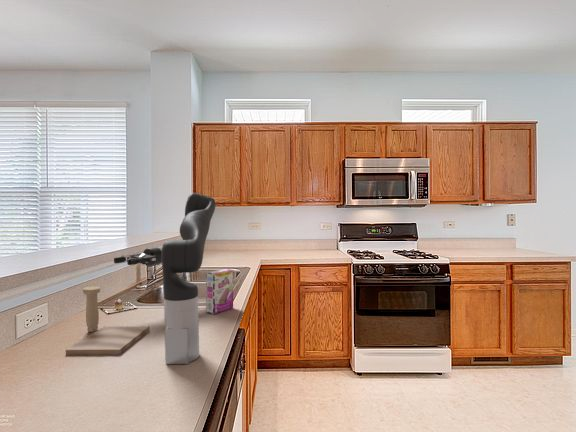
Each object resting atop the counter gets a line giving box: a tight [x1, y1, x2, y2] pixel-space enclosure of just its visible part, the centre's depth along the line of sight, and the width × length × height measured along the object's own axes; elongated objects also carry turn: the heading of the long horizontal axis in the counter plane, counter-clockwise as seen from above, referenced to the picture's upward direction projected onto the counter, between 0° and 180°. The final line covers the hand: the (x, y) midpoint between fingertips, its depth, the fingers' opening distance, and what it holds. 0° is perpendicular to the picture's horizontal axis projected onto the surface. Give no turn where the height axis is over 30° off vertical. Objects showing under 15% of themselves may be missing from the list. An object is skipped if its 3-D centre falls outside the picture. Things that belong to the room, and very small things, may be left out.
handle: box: [82, 285, 101, 333], centre depth 121 cm, size 5×6×15 cm
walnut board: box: [65, 325, 150, 356], centre depth 111 cm, size 20×16×2 cm
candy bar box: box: [205, 268, 234, 315], centre depth 144 cm, size 11×5×16 cm, turn 144°
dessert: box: [104, 298, 138, 314], centre depth 149 cm, size 12×12×5 cm
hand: (121, 261), depth 130 cm, fingers open, 8 cm apart
